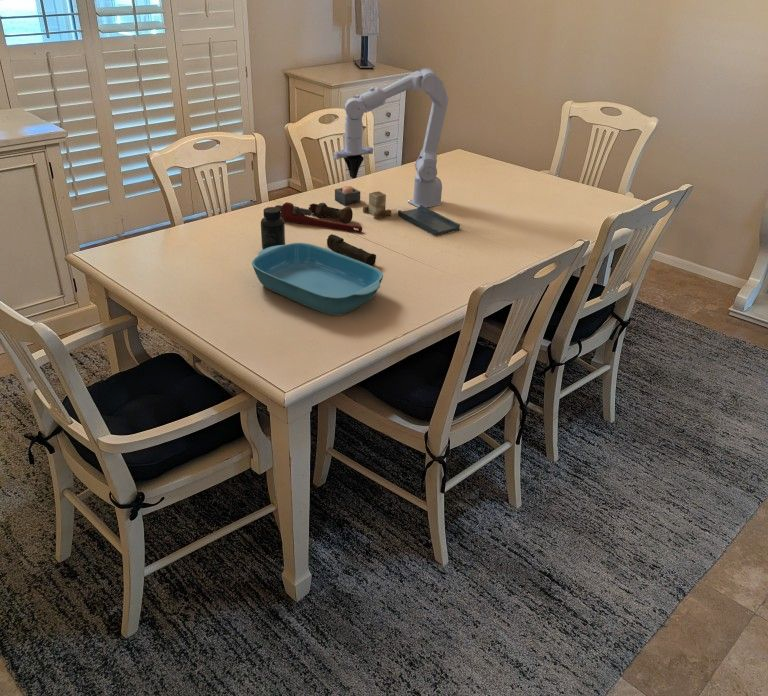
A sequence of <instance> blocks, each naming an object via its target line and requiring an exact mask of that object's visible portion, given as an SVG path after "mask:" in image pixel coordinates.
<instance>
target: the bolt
mask: <svg viewBox="0 0 768 696" xmlns="http://www.w3.org/2000/svg"><path fill="white" fill-rule="evenodd" d="M307 209H309V210H311V211H312V214H315V215H316V216H317V217H318V218H320V219H322V218H325V217H329V218H332V219H337V220H340V223H345V224H350V223H351V221H352V220H353V215H354V213H353V209H352V208H351V207H350V206H345V207H344V208H336V207H331V206H328V205H327V203H325V202H320V203H318V204H317V203H310V204H309V205H308V208H307Z"/></svg>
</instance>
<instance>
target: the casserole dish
mask: <svg viewBox="0 0 768 696" xmlns="http://www.w3.org/2000/svg"><path fill="white" fill-rule="evenodd" d="M251 265H252V267H253V270H254V273H255V275H256V277H257V280H259V283H260V284H261V285H263V286H264V287H265V288H267V289H268V290H270V291H272V292H274V293H277V294H278V295H281V296H282V297H285V298H288V299H290V300H292V301H295V302H297V303H299V304H301V305H304V306H305V307H308V308H310V309H313V310H315V311H318V312H321V313H323V314H326V315H332V316H341V315H345V314H348V313H350V312H352V311H354V310H355V309H356V308H358V307H360V306H362V305H364V304H365V303H367V302H368V301H370V300H371V299H373V297H375V295H376V294H377V292H378V290H380V288H381V283H382V280H383V278H384V273H383V272H382V271H381V270H379V269H378V268H376V267H374V266H370V265H368V264H365V263H363V262H360V261H358V260H355V259H353V258H350V257H349V256H346V255H344V254H342V253H336V252H334V251H333V250H331V249H329V248H328V249H327V248H324V247H321V246H318V245H316V244H311V243H306V242H292V243H288V244H287V243H285V245H278V246H272V247H269V248H266V249H264V250H263V249H262V250H259V252H258V253H257V256H255V258H253V260H252V261H251Z"/></svg>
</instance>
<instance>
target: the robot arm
mask: <svg viewBox="0 0 768 696" xmlns="http://www.w3.org/2000/svg"><path fill="white" fill-rule="evenodd" d="M420 88H421V90H422V91H423V92H424V93H425V94H426V95H428V96H429V98H430V100H431V102H432V103H431V106H430V107H431V108H430V112H429V117H428V121H427V126H426V132H425V135H424V140H423V145H422V149H421V150H420V154H419V156H418V158H417V159H416V161H415V163H414V167H415V170H416V172H417V173H416V175H415V176H414V185H413V186H414V187H413V199H410V200H409V199H408V200H407V202H408V203H410V204H411V205H413V206H415V207H417V208H419V207H420V206H421V205H422V206H424V207H426V208H428V209H429V208H431V207H436V206H440V205H443V202H442V193H443V183H442V181H441V178H439V177H438V175H437V174H438V169H437V163H438V159H437V158H438V154H437V153H438V149H439V144H440V140H441V137H442V130H443V126H444V120H445V118H446V113H447V109H448V108H447V107H448V103H449V96H448V93H447V91H446V88H445V86H444V81H443V80H442V79H441V78H440V77H439V76H438V75H437V74H436V72H435V71H434V70H433V69H432V68H429V67H424V68H421V69H420V70H416V71H413V72H412V73H410V74H407V75H406V76H404V77H401V78H400V79H399V80H396V81H395V82H393V83H391V84H388V85H387V86H386V87H383V88H381V87H377V86H376V87H374V86H372V87H370V88H369V90H368V91H366V92H364V93H362V94H359V93H358V94H356V95H355V97H350V98H348V99H347V101H346V102H345V104H344V111H345V113H346V114H345V123H344V125H345V126H344V149H341V150H337V151H334V152H333V159H334V160H336V161H337V160H340V159H343V160H344V162H345V164H346V165H347V169H348V173H349V177H350V178H351V179H357V177H358V173H359V170H360V167H361V165H362V163H363V162H364V160H365V158H364V156H365V155H373V154H374V147H371V146H367V147H366V146H365V147H364V146H363V135H364V134H363V133H364V132H363V129H364V128H363V126H364V124H363V123H364V122H363V117H364V115H365V114H366V113H368V112H371V111H373V110H376V109H377V108H380V107H382V106H385V103H386V101H387V99H389V98H391V97H393V96H396V95H398V94H402V93H403V92H406V91H409V90H412V91H417V92H420Z"/></svg>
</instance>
